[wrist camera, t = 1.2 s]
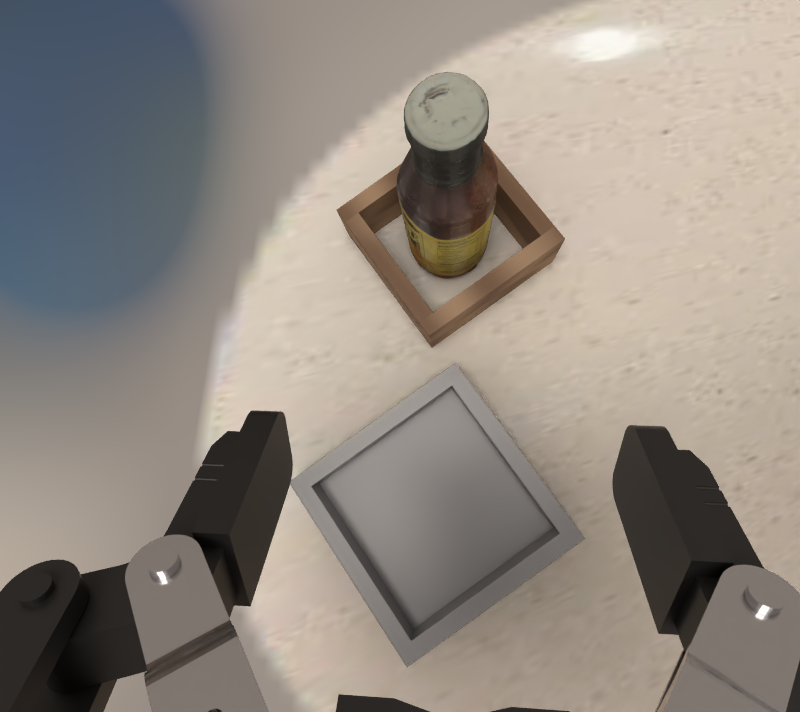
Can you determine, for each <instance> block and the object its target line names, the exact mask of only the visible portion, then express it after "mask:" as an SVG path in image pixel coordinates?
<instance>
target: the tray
mask: <svg viewBox="0 0 800 712" xmlns="http://www.w3.org/2000/svg"><path fill="white" fill-rule="evenodd" d="M290 485H291V486H292V488H293V489H294V491H295V493H296V494H297V496H298V497H299V499H300V500H301V502H302V504H303V505H304V507H305V508H306V510H307V511H308V513H309V514H310V516H311V518H312V519H313V521H314V522H315V524H316V525H317V527H318V529H319V530H320V532H321V533H322V535H323V536H324V538H325V540H326V541H327V543H328V544H329V546H330V547H331V549H332V551H333V552H334V554H335V555H336V557H337V558H338V560H339V561H340V563H341V565H342V566H343V568H344V569H345V571H346V572H347V574H348V576H349V577H350V579H351V580H352V582H353V583H354V585H355V587H356V588H357V590H358V591H359V593H360V594H361V596H362V598H363V599H364V601H365V602H366V604H367V605H368V607H369V609H370V610H371V612H372V613H373V615H374V616H375V618H376V619H377V621H378V623H379V624H380V626H381V627H382V629H383V630H384V632H385V634H386V635H387V637H388V638H389V640H390V641H391V643H392V645H393V646H394V648H395V649H396V651H397V652H398V654H399V656H400V657H401V659H402V660H403V662H404V663H405V665H406V666H407V667H408V666H410V665H411V664H412V663H414V662H415V661H416V660H418V659H419V658H421V657H422V656H423V655H425V654H426V653H427V652H429V651H430V650H432V649H433V648H434V647H436V646H437V645H439V644H440V643H441V642H443V641H444V640H445V639H447V638H448V637H450V636H451V635H452V634H454V633H455V632H457V631H458V630H459V629H461V628H462V627H463V626H465V625H466V624H468V623H469V622H470V621H472V620H473V619H474V618H476V617H477V616H479V615H480V614H481V613H483V612H484V611H486V610H487V609H488V608H490V607H491V606H492V605H494V604H495V603H497V602H498V601H499V600H501V599H502V598H503V597H505V596H506V595H508V594H509V593H510V592H512V591H513V590H515V589H516V588H517V587H519V586H520V585H521V584H523V583H524V582H526V581H527V580H528V579H530V578H531V577H532V576H534V575H535V574H537V573H538V572H539V571H541V570H542V569H544V568H545V567H546V566H548V565H549V564H550V563H552V562H553V561H555V560H556V559H557V558H559V557H560V556H561V555H563V554H564V553H566V552H567V551H568V550H570V549H571V548H573V547H574V546H575V545H577V544H578V543H579V542H581V541H582V540H584V539H585V537H584V536H583V534H582V533H581V532H580V530H579V529H578V528H577V526H576V525H575V524H574V522H573V521H572V520H571V518H570V517H569V516H568V514H567V513H566V511H565V510H564V509H563V507H562V506H561V505H560V503H559V502H558V501H557V499H556V498H555V497H554V495H553V494H552V493H551V491H550V490H549V489H548V487H547V486H546V484H545V483H544V482H543V480H542V479H541V478H540V476H539V475H538V474H537V472H536V471H535V470H534V468H533V467H532V466H531V464H530V463H529V461H528V460H527V459H526V457H525V456H524V455H523V453H522V452H521V451H520V449H519V448H518V447H517V445H516V444H515V443H514V441H513V440H512V438H511V437H510V436H509V434H508V433H507V432H506V430H505V429H504V428H503V426H502V425H501V424H500V422H499V421H498V420H497V418H496V417H495V415H494V414H493V413H492V411H491V410H490V409H489V407H488V406H487V405H486V403H485V402H484V401H483V399H482V398H481V397H480V395H479V394H478V392H477V391H476V390H475V388H474V387H473V386H472V384H471V383H470V382H469V380H468V379H467V378H466V376H465V375H464V374H463V372H462V371H461V369H460V368H459V367H458V365H457V364H456V363H454V364H453V365H452V366H450V367H449V368H447V369H446V370H445V371H443V372H442V373H440V374H439V375H438V376H436V377H435V378H433V379H432V380H431V381H429V382H428V383H426V384H425V385H424V386H422V387H421V388H419V389H418V390H417V391H415V392H414V393H413V394H411V395H410V396H408V397H407V398H406V399H404V400H403V401H401V402H400V403H399V404H397V405H396V406H394V407H393V408H392V409H390V410H389V411H387V412H386V413H385V414H383V415H382V416H380V417H379V418H378V419H376V420H375V421H373V422H372V423H371V424H369V425H368V426H366V427H365V428H364V429H362V430H361V431H359V432H358V433H357V434H355V435H354V436H352V437H351V438H350V439H348V440H347V441H345V442H344V443H343V444H341V445H340V446H338V447H337V448H336V449H334V450H333V451H331V452H330V453H329V454H327V455H326V456H324V457H323V458H322V459H320V460H319V461H318V462H316V463H315V464H313V465H312V466H311V467H309V468H308V469H306V470H305V471H304V472H302V473H301V474H299V475H298V476H297V477H295V478H294V479H292V480H291V482H290Z"/></svg>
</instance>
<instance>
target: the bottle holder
mask: <svg viewBox="0 0 800 712" xmlns="http://www.w3.org/2000/svg"><path fill="white" fill-rule="evenodd" d="M484 142H485V141H484ZM486 145H487V144H486ZM487 146H488V145H487ZM489 148H490V147H489ZM490 150H491V149H490ZM491 152H492V153H493V155H494V159H495V162H496V165H497V170H498V183H497V191H496V196H495V197H496V202H495V207H494V213H495V214H496V216H497V217H498V218H499V219H500V221H501V222H502V223H503V224H504V225H505V227H506V228H507V229H508V230H509V232H510V233H511V234H512V235H513V237H514V238H515V239H516V240H517V242H518V243H519V244H520V245H521V247H522V248H523V249H522V250H521V251H519V252H518V253H516V254H515V255H514V256H512V257H511V258H509V259H508V260H507V261H505V262H504V263H502V264H501V265H500V266H498V267H497V268H495V269H494V270H493V271H491V272H490V273H488V274H487V275H486V276H484V277H483V278H481V279H480V280H478V281H477V282H476V283H474V284H473V285H471V286H470V287H469V288H467V289H466V290H464V291H463V292H462V293H460V294H459V295H457V296H456V297H455V298H453V299H452V300H450V301H449V302H448V303H446V304H445V305H443V306H442V307H441V308H439V309H438V310H436V311H435V312H434V313H433V312H432V311H431V309H430V308H429V307H428V305H427V304H426V303H425V301H424V300H423V299H422V297H421V296H420V295H419V293H418V292H417V291H416V289H415V288H414V287H413V285H412V284H411V283H410V281H409V280H408V279H407V277H406V276H405V275H404V273H403V272H402V271H401V269H400V268H399V266H398V265H397V264H396V262H395V261H394V260H393V258H392V257H391V256H390V254H389V253H388V252H387V250H386V249H385V248H384V246H383V245H382V244H381V242H380V241H379V240H378V238H377V237H376V236H375V234H374V233H375V232H377V231H378V230H380V229H381V228H382V227H384V226H385V225H387V224H388V223H389V222H391V221H392V220H394V219H395V218H396V217H398V216H399V215H401V214H402V211H401V207H400V203H399V198H398V194H397V176H398V172H399V169H400V167H401V165H402V164H401V165H399V166H398V167H397V168H395V169H394V170H392V171H391V172H389V173H388V174H387V175H385V176H384V177H382V178H381V179H380V180H378V181H377V182H375V183H374V184H373V185H371V186H370V187H368V188H367V189H365V190H364V191H363V192H361V193H360V194H358V195H357V196H356V197H354V198H353V199H351V200H350V201H349V202H347V203H346V204H344V205H343V206H341V207H340V208H339V209H337V212H338V214H339V216H340V218H341V220H342V222H343V224H344V226H345V228H346V230H347V232H348V234H349V235H350V237H351V238H352V240H353V241H354V242H355V244H356V245H357V246H358V248H359V249H360V250H361V252H362V253H363V255H364V256H365V257H366V259H367V260H368V261H369V263H370V264H371V265H372V267H373V268H374V270H375V271H376V272H377V274H378V275H379V276H380V278H381V279H382V280H383V282H384V283H385V285H386V286H387V287H388V289H389V290H390V291H391V293H392V294H393V295H394V297H395V298H396V299H397V301H398V302H399V304H400V305H401V306H402V308H403V309H404V310H405V312H406V313H407V314H408V316H409V317H410V319H411V320H412V321H413V323H414V324H415V325H416V327H417V328H418V329H419V331H420V332H421V334H422V335H423V336H424V338H425V339H426V340H427V342H428V343H429V344H430V346H431V347H433V346H435V345H436V344H438V343H439V342H440V341H442V340H443V339H445V338H446V337H447V336H449V335H450V334H452V333H453V332H454V331H456V330H457V329H459V328H460V327H461V326H463V325H464V324H466V323H467V322H468V321H470V320H471V319H473V318H474V317H475V316H477V315H478V314H480V313H481V312H482V311H484V310H485V309H487V308H488V307H489V306H491V305H492V304H494V303H495V302H496V301H498V300H499V299H501V298H502V297H503V296H505V295H506V294H508V293H509V292H510V291H512V290H513V289H515V288H516V287H517V286H519V285H520V284H522V283H523V282H524V281H526V280H527V279H529V278H530V277H531V276H533V275H534V274H536V273H537V272H538V271H540V270H541V269H543V268H544V267H545V266H547V265H548V264H550V263H551V262H552V261H553V260H554V258H555V256H556V254H557V252H558V251H559V249H560V247H561V245H562V243H563V242H564V240H565V238H564V237H563V236H562V234H561V233H560V232H559V231H558V230H557V228H556V227H555V226H554V225H553V224H552V222H551V221H550V220H549V219H548V218H547V216H546V215H545V214H544V213H543V212H542V210H541V209H540V208H539V207H538V205H537V204H536V203H535V202H534V201H533V199H532V198H531V197H530V196H529V195H528V193H527V192H526V191H525V190H524V189H523V187H522V186H521V185H520V184H519V182H518V181H517V180H516V179H515V178H514V176H513V175H512V174H511V173H510V172H509V170H508V169H507V168H506V167H505V166H504V164H503V163H502V162H501V161H500V160H499V158H498V157H497V156H496V155H495V153H494V152H493V151H492V150H491Z"/></svg>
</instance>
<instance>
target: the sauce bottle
mask: <svg viewBox="0 0 800 712" xmlns="http://www.w3.org/2000/svg"><path fill="white" fill-rule="evenodd" d="M488 119H489V107H488V100H487V97H486V95H485V93H484V91H483V89H482V88H481V87H480V86H479V85H478V84H477V83H476V82H475V81H473V80H472V79H470V78H469V77H467V76H466V75H462V74H459V73H452V72H444V73H438V74H435V75H431V76H429V77H428V78H426V79H425V80H424V81H422V82H421V83H419V84H418V85H417V86H416V87H415V88H414V89H413V91H412V92H411V94H410V95H409V97H408V99H407V102H406V105H405V108H404V122H405V133H406V137H407V140H408V141H409V143H410V145H411V148H410V150H409V152H408V154H407V155H406V157H405V159H404V161H403V163H402V165H401V167H400V169H399V172H398V176H397V194H398V198H399V203H400V207H401V211H402V215H403V219H404V223H405V228H406V231H407V236H408V240H409V244H410V248H411V252H412V254H413V256H414V257H415V259H416V260H417V262H418V263H419V265H420V266H422V267H423V268H424V269H426V270H427V271H429V272H430V273H432V274H434V275H436V276H439V277H443V278H450V277H456V276H460V275H462V274H464V273H466V272H468V271H471V270H472V269H473V268H475V267H476V265H477V263H478V261H479V260H480V259H481V257H482V256H483V254H484V252H485V249H486V246H487V242H488V236H489V232H490V227H491V222H492V217H493V212H494V207H495V202H496V197H495V196H496V191H497V183H498V170H497V165H496V162H495V159H494V155H493V153H492V152H491V150H490V148H489V146H487V145H486V143H485V142H484V139H485V136H486V133H487V129H488Z"/></svg>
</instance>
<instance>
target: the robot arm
mask: <svg viewBox="0 0 800 712" xmlns="http://www.w3.org/2000/svg"><path fill="white" fill-rule="evenodd" d="M202 464H203V465H202V467H200V469H199V471H198V473H197V474H196V476H195V481H193V482H192V484H191V486H190V488H189V490H188V492H187V493H186V495H185V497H184V499H183V501H182V503H181V505H180V507H179V509H178V511H177V513H176V514H175V516H174V518H173V520H172V522H171V524H170V526H169V528H168V530H167V532H166V533H165V535H164V536H163V537H161V538H158V539H156V540H154V541H152V542H150V543H148V544H147V545H145V546H144V547H143V548H141V549H140V550H139V551H138V552H137V553H136V554H135V555H134V557H133V558H132V559H131V561H130V562H129V563H127V564H123V565H120V566H116V567H111V568H107V569H103V570H98V571H94V572H89V573H85V574H80V572H79V571H78V569H77V567H76V566H75V565H74V564H72V563H70V562H69V561H65V560H50V561H45V562H42V563H39V564H36V565H34V566H31V567H29V568H28V569H26V570H24V571H22V572H21V573H20V574H18V575H17V576H15V577H14V578H13V579H12V580H11V581H10V582H9V583H8V584H7V585H6V586H5V587H4V588H3V589H2V591H1V592H0V712H103V711H104V709H105V707H106V704H107V702H108V700H109V697H110V695H111V693H112V690H113V688H114V685H115V683H116V681H117V679H119V678H123V677H127V676H130V675H134V674H138V673H141V672H145V671H147V672H146V673H145V675H144V677H145V684H146V689H147V693H148V697H149V701H150V706H151V710H152V712H269V711H268V709H267V706H266V704H265V701H264V699H263V696H262V694H261V691H260V689H259V686H258V684H257V682H256V679H255V677H254V674H253V672H252V669H251V667H250V664H249V662H248V659H247V657H246V655H245V652H244V650H243V647H242V645H241V642H240V640H239V637H238V635H237V633H236V630H235V628H234V626H233V625H232V623H231V621H230V619H229V618H230V615H231V612H232V609H233V607H234V605H237V606H251V603H252V600H253V597H254V594H255V591H256V588H257V584H258V581H259V578H260V575H261V572H262V569H263V566H264V563H265V560H266V557H267V554H268V550H269V547H270V544H271V541H272V538H273V535H274V532H275V529H276V526H277V523H278V520H279V516H280V513H281V510H282V507H283V504H284V501H285V498H286V495H287V492H288V489H289V486H290V482H291V477H292V466H293V464H292V454H291V448H290V442H289V436H288V431H287V425H286V419H285V415H284V413H283V412H277V411H251V412H250V413H249V414H248V416H247V418H246V420H245V422H244V424H243V426H242V428H241V430H240V432H237V431H227V432H226V433H225V434H224V435H223V436H222V437H221V438H220V439H219V440H217V441H216V442H215V443H214V444H213V445H212V446H211V448H210V450H209V451H208V453H207V455H206V457H205V459H204V461H203V463H202ZM613 494H614V499H615V502H616V505H617V509H618V512H619V515H620V518H621V521H622V524H623V527H624V530H625V533H626V536H627V539H628V542H629V545H630V548H631V551H632V554H633V557H634V560H635V563H636V566H637V570H638V573H639V576H640V579H641V582H642V585H643V588H644V591H645V594H646V597H647V600H648V603H649V606H650V609H651V612H652V615H653V618H654V621H655V624H656V627H657V630H658V634H674V635H679V637H680V640H681V643H682V646H683V651H682V653H681V655H680V657H679V659H678V661H677V663H676V666H675V668H674V670H673V672H672V675H671V677H670V679H669V681H668V683H667V686H666V688H665V690H664V692H663V695H662V697H661V699H660V701H659V703H658V706H657V708H656V710H655V712H800V594H799V593H798V592H797V591H796V590H795V589H794V587H792V586H791V585H790V584H789V583H788V582H787V581H785V580H784V579H782V578H781V577H779V576H778V575H776V574H774V573H772V572H770V571H768V570H766V569H764V568H763V566H762V564H761V562H760V561H759V559H758V557H757V555H756V553H755V552H754V550H753V548H752V546H751V544H750V542H749V541H748V539H747V537H746V535H745V533H744V531H743V530H742V528H741V526H740V524H739V522H738V521H737V519H736V517H735V515H734V513H733V511H732V510H731V508H730V507H728V505H727V504H728V502H727V500H726V499H725V497H724V495H723V493H722V491H719V486H718V484H717V482H716V480H715V479H714V477H713V475H712V473H711V471H710V469H709V468H708V467H707V466H706V465H705V464H704V463H703V462H702V461H701V460H700V459H699V458H697V457H696V456H695V455H694V454H693V453H692V452H691V451H690V450H677V448H676V446H675V444H674V442H673V440H672V438H671V436H670V434H669V432H668V430H667V429H666V428H665V427H663V426H636V425H630V426H628V427H627V429H626V431H625V434H624V438H623V441H622V445H621V448H620V452H619V455H618V459H617V462H616V466H615V469H614V473H613ZM336 712H429V711H426V710H424V709H421V708H418V707H416V706H413V705H410V704H408V703H405V702H402V701H399V700H397V699H394V698H380V697H367V696H353V695H339V696H338V702H337V708H336ZM492 712H569V711H558V710H545V709H531V708H517V707H510V708H505V709H501V710H496V711H492Z"/></svg>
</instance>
